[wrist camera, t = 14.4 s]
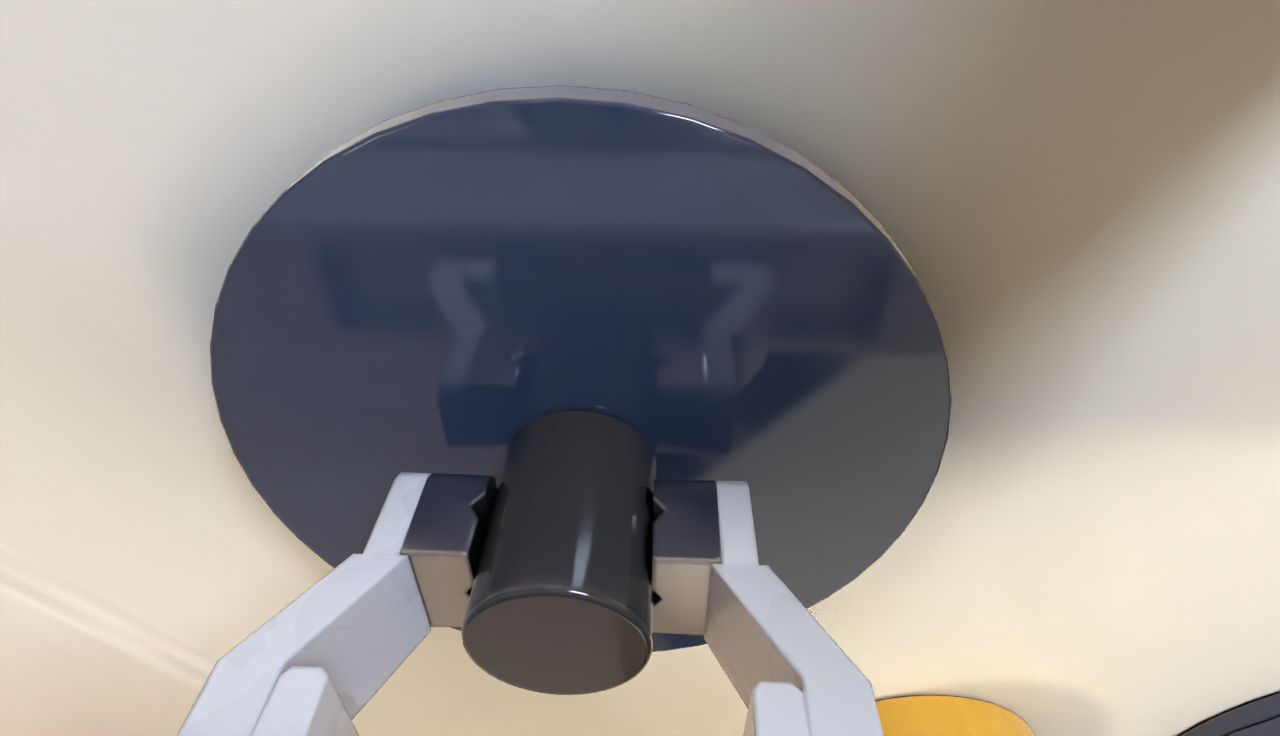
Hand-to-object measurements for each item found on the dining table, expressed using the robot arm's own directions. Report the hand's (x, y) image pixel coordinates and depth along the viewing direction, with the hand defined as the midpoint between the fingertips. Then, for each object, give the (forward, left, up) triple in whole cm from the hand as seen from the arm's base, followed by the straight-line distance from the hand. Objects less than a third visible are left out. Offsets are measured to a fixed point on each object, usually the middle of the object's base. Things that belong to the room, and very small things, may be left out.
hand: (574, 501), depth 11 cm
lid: (0, 0, -2) cm, 2 cm away
